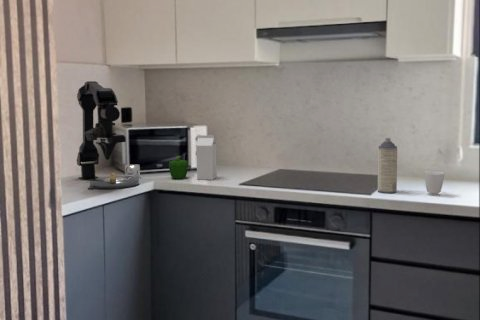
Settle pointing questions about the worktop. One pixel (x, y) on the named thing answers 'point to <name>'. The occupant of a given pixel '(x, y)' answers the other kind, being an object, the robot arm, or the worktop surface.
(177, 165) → the bell pepper
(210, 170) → the milk carton
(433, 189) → the cup
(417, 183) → the worktop surface
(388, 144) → the aerosol can
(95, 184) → the turntable
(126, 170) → the cover
